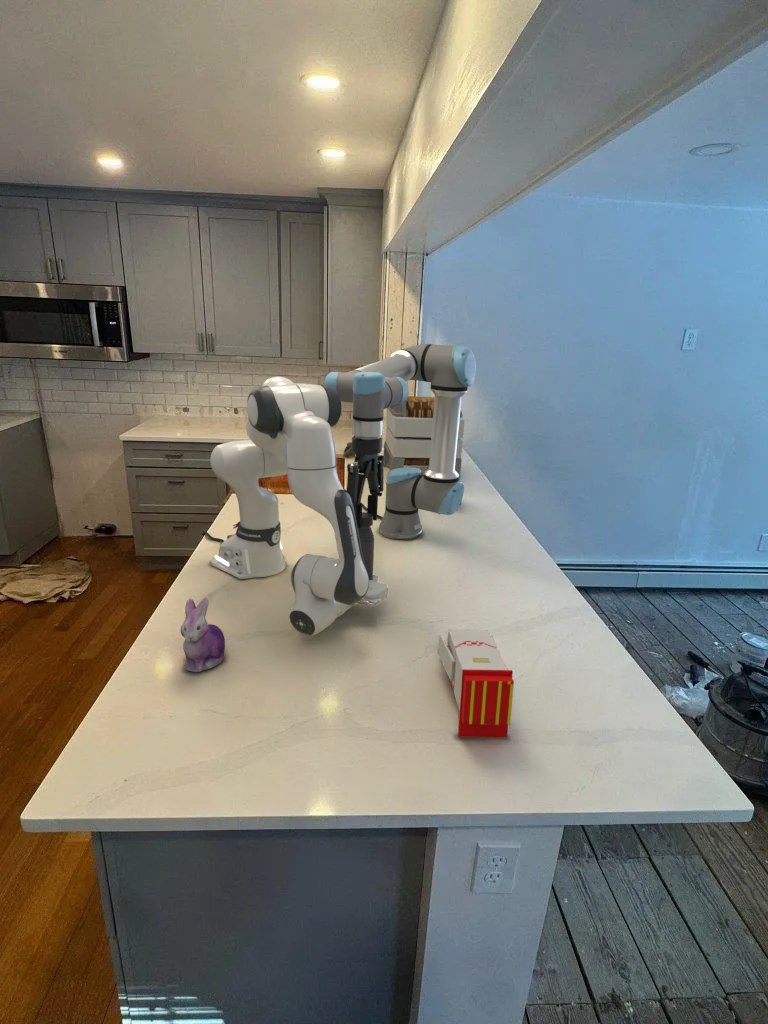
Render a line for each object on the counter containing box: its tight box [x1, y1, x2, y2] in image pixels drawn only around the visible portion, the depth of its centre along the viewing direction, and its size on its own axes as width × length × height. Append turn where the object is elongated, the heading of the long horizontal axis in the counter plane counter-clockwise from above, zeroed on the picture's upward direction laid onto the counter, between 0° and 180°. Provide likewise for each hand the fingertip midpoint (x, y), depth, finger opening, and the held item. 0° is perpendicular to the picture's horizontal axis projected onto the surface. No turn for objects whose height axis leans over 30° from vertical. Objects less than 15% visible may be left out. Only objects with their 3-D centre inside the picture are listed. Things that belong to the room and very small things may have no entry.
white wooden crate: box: [383, 395, 465, 482], centre depth 268 cm, size 34×33×41 cm
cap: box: [362, 511, 374, 527], centre depth 148 cm, size 4×4×2 cm
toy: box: [437, 628, 515, 738], centre depth 117 cm, size 12×13×30 cm
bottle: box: [358, 526, 375, 580], centre depth 152 cm, size 6×6×23 cm
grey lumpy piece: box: [343, 441, 356, 459], centre depth 304 cm, size 22×10×15 cm
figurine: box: [180, 597, 226, 673], centre depth 122 cm, size 9×10×15 cm
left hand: (364, 574), depth 154 cm, fingers closed on bottle, 5 cm apart
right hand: (364, 522), depth 148 cm, fingers open, 7 cm apart
